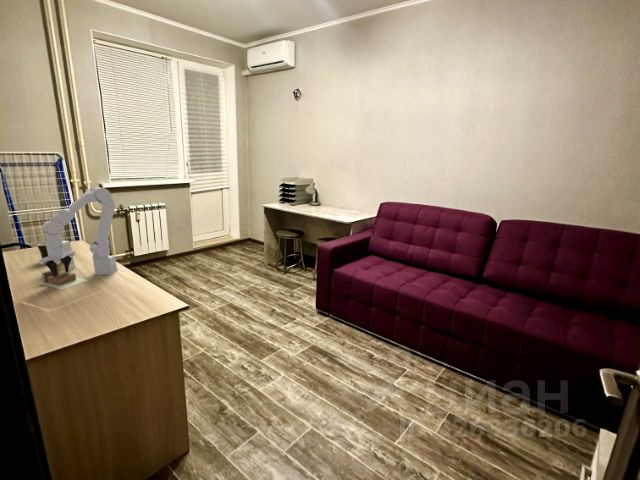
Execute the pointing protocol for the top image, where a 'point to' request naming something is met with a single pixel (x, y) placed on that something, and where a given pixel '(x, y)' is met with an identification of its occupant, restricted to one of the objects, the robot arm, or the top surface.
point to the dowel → (60, 270)
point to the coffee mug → (43, 249)
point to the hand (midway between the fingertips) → (60, 273)
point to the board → (74, 282)
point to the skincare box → (66, 249)
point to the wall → (44, 276)
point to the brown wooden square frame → (61, 279)
